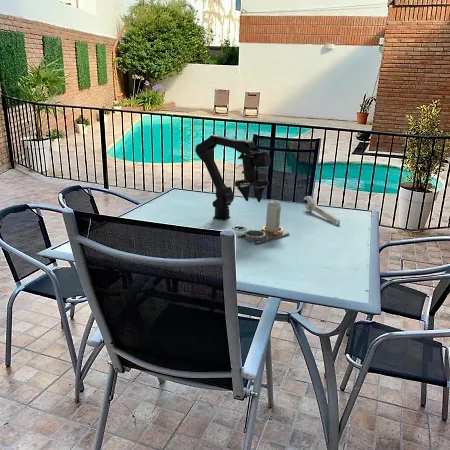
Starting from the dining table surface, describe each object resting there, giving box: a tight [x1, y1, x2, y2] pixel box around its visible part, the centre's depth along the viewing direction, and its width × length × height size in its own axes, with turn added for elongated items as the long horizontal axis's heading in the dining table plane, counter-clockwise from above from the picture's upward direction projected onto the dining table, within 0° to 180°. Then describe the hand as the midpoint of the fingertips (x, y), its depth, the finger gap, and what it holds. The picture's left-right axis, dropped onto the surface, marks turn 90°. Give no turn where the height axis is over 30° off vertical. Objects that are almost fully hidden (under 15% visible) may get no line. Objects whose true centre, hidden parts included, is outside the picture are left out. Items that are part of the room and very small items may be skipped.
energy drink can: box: [265, 199, 282, 231], centre depth 191 cm, size 6×6×15 cm
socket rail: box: [237, 225, 290, 246], centre depth 189 cm, size 21×12×2 cm, turn 132°
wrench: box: [303, 195, 341, 226], centre depth 220 cm, size 8×2×30 cm
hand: (253, 201), depth 200 cm, fingers open, 9 cm apart
